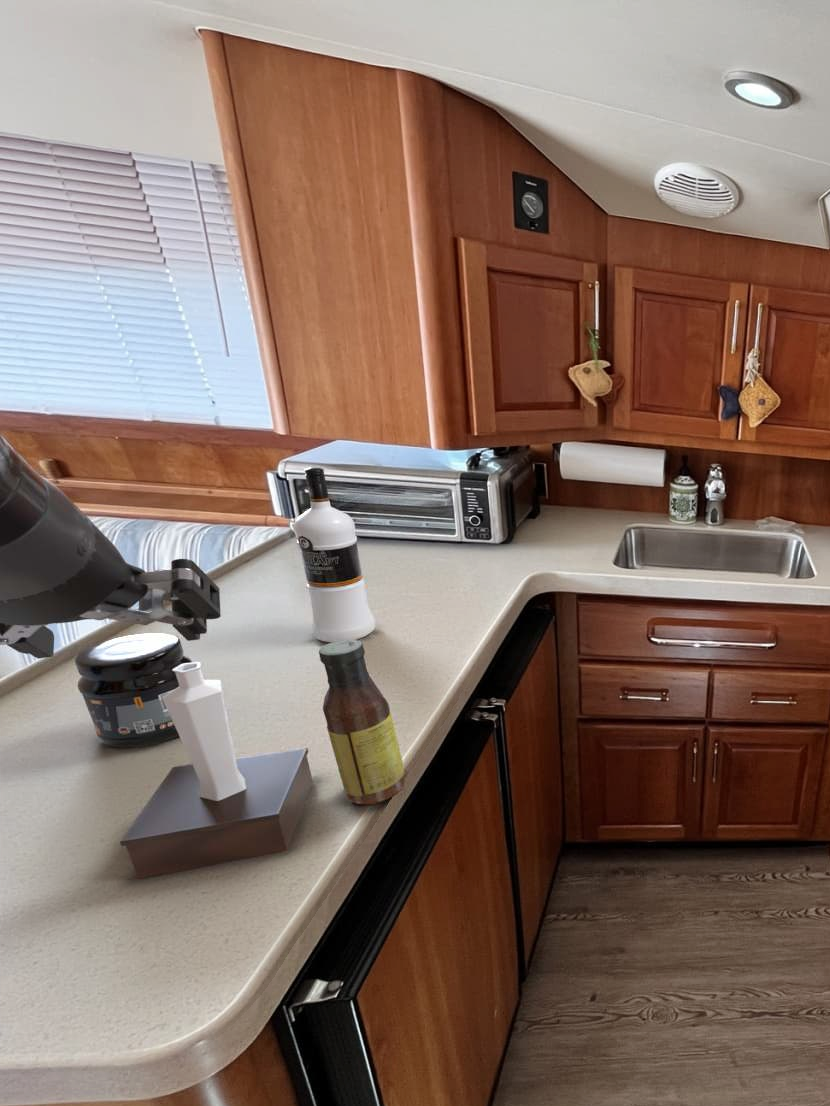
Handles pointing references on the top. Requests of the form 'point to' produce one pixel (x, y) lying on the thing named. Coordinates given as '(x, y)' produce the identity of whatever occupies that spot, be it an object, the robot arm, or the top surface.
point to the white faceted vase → (205, 731)
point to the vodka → (332, 567)
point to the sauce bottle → (360, 726)
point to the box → (220, 816)
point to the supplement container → (131, 687)
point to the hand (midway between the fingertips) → (123, 637)
